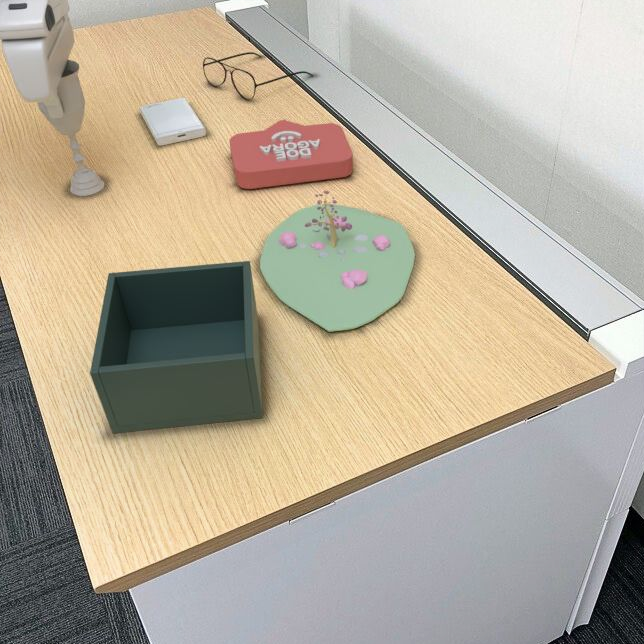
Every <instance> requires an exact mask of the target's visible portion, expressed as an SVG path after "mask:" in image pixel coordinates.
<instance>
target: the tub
mask: <svg viewBox="0 0 644 644" xmlns="http://www.w3.org/2000/svg"><path fill="white" fill-rule="evenodd" d="M260 348H261V347H260V329H259V316H258V308H257V301H256V293H255V287H254V280H253V273H252V264H251V261H250V260H244V261H243V260H242V261H232V262H220V263H210V264H209V263H208V264H198V265H186V266H175V267H164V268H152V269H140V270H129V271H118V272H109V273H108V275H107V280H106V285H105V289H104V296H103V301H102V307H101V312H100V317H99V323H98V329H97V334H96V339H95V344H94V350H93V354H92V360H91V365H90V372H89V374H90V377H91V381H92V382H93V385H94V388H95V390H96V393H97V396H98V398H99V401H100V403H101V406H102V409H103V411H104V414H105V417H106V419H107V422H108V425H109V428H110V430H111V433H112V434H120V433H130V432H139V431H141V432H142V431H150V430H158V429H169V428H177V427H178V428H179V427H186V426H187V427H189V426H197V425H207V424H217V423H226V422H237V421H246V420H256V419H263V418H264V412H263V411H264V410H263V390H262V389H263V388H262V368H261V349H260Z"/></svg>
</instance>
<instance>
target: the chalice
mask: <svg viewBox="0 0 644 644" xmlns="http://www.w3.org/2000/svg"><path fill="white" fill-rule="evenodd" d="M79 70H80V63H78V62H76V61H75V60H71V59H68V61H67V64H66V66H65V69H64V71H63V74H62V77H61V79H60V82H59V85H58V87H57V95H58V97H59V100H60V101H61V100H62V103H63V107H64V110H65V111H64V114H63V117H62V118H51V117H50V116H49V113H48V110H47V107H46V106H45V104H44V103H43V102H36V104H37V107H38V110H39V111H40V112H41V113H42V115H43V116H44V117H45V119H46V120H47V121H48V122H49V124H50V125H52V126H53V128H55V130H56V131H57V132H58V133H59V134H60V135H62V136H66V137H68V140H69V146H68V148H69V149H70V150H71V151H72V153H73V155H72V158H71V160H72V161H74V162H75V164H76V165H77V169H76V171H74V173H73V174H72V176H71V180H70V189H69V191H70V193H71V194H73V195H75V196H79V197H87V196H92V195H95V194H98V193H99V192H101V191H102V190H103V189H104V188H105V185H106V184H105V182H104V181H103V180H102V179H101V177H100V175H98V174H97V172H96V171H95V170H93V169H91V168H88V167H86V165H85V163H84V161H85V158H86V155H84V154H82V153H81V146H82V145H81V144H80V143H79V141H78V139H77V136H76V135H77V134H78V133H80V132H81V130H82V125H83V121H84V118H85V109H86V100H85V96H84V93H83V89H82V85H81V82H80V78H79Z"/></svg>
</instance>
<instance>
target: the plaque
mask: <svg viewBox="0 0 644 644" xmlns="http://www.w3.org/2000/svg"><path fill="white" fill-rule="evenodd" d="M228 142H229V148H230V156H231V161H232V165H233V170H234V177H235V180H236V181H235V182H236V185H237V186H238V187H240V188H241V189H247V190H253V189H260V188H261V189H262V188H269V187H270V188H271V187H276V186H284V185H292V184H301V183H309V182H316V181H322V180H332V179H339V178H346V177H348V176H350V175H352V173H353V171H354V155H353V154H354V153H353V151H352V148H351V146H350V143H349V141H348V139H347V136H346V134H345V132H344V129H343V127H342V126H340V125H339V124H337V123H333V122H329V123H318V124H307V125H304V124H300V123H297V122H293V121H289V120H286V119H280V120H278V121H276V122H274V123H273V124H272V125H270V126H268V127H267V128H266V129H264V130H255V131H248V132H240V133H236V134H234V135H232V136H231V137H230V138H229V141H228Z"/></svg>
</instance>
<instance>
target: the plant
mask: <svg viewBox="0 0 644 644" xmlns="http://www.w3.org/2000/svg"><path fill="white" fill-rule="evenodd" d="M324 194H325V195H329V194H330V192H329V191H328V190H323V194H322V193H319V194H314V197H316V198H318V200H317V201H316V203H317V204H314V205H310V206H307V207H303V208H301V209H298V210H296V211H295V212H293V213H292V214H290V215H289V216H288V217H287V218H285V219H284V220H283V221H282V222H281V223H279V225H277V226H276V227H275V228H274V229H273V230H272V231H271V232H270V233H269V235H267V238H266V239H265V242H264V245H263V248H262V252H261V255H260V259H259V268H260V272H261V274H262V276H263V278H264V281H265V282H266V284H267V286H268V287H269V288H270V290H271V291H272V293H274V294H275V295H276V297H277V298H278V300H280V301H281V302H282V303H283V304H285V306H287V307H289V308H290V309H292V310H294V311H295V312H297V313H299V314H300V315H301V316H303V317H305V319H308V320H309V321H311V322H313V323H314V324H316V325H318V326H319V327H321V328H322V329H324V331H327V332H329V333H331V332H339V331H348V330H353V329H356V328H360V327H362V326H365V325H366V324H369V323H371V322H373V321H374V320H376V319H377V318H378V317H380V316H381V315H383V314H384V313H386V312H387V311H389V310H390V309H391V308H393V307H394V306H396V305H397V304H398V303H399V302H400V301H401V300H402V298H403V297H404V295H405V293H406V289H407V286H408V283H409V281H410V278H411V275H412V272H413V269H414V265H415V258H416V253H415V249H414V246H413V243H412V241H411V238H410V236H409V235H408V232H407V230H406V228H405V227H404V225H402V224H401V223H400V222H399V221H397V220H393V219H390V218H388V217H384V216H382V215H379V214H376V213H373V212H370V211H367V210H365V209H361V208H358V207H352V206H347V205H340V204H337V203H338V201H337V200H335V199H336V198H335V197H331V198H332V201H329V202H328V203H327V196H325V197H324ZM319 197H320V198H319ZM323 197H324V201H322V199H323Z"/></svg>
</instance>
